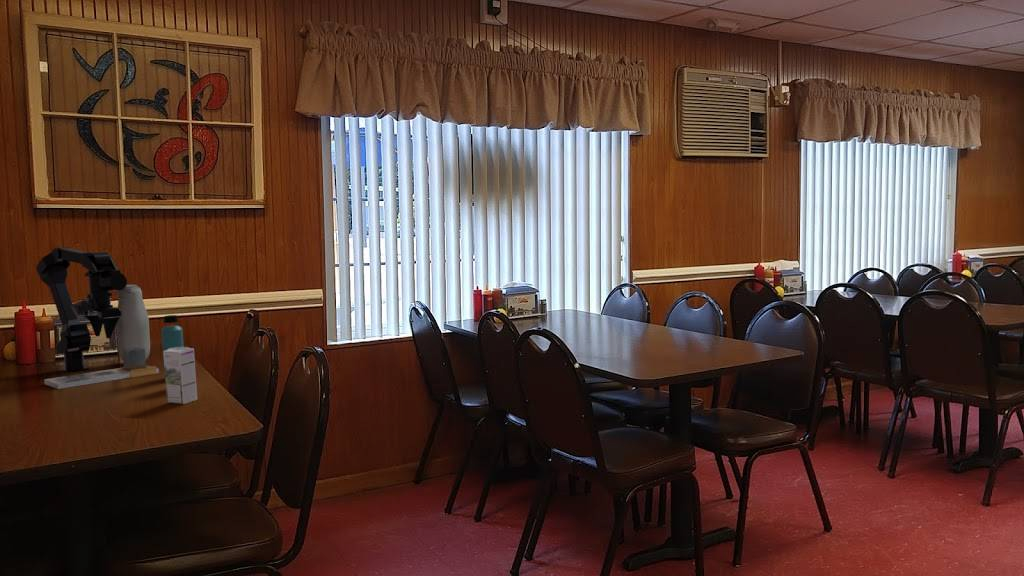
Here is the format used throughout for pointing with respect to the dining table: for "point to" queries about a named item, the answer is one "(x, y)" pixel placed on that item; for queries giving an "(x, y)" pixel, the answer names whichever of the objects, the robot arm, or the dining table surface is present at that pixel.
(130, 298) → the glass bottle
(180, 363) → the syrup box
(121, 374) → the white flat frame
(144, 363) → the steel block
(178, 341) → the beverage bottle
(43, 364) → the dining table surface
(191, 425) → the dining table surface
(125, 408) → the dining table surface
